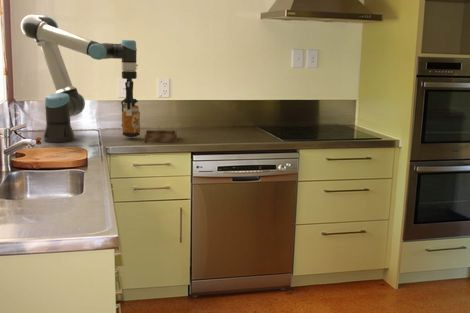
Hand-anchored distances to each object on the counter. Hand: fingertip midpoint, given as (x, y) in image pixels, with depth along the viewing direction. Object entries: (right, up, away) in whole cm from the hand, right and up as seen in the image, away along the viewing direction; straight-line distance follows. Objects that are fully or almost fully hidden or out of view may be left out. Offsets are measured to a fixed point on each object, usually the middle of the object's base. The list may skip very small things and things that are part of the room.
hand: (129, 114), depth 284 cm
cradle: (+16, -13, +1) cm, 21 cm away
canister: (0, -11, +3) cm, 12 cm away
